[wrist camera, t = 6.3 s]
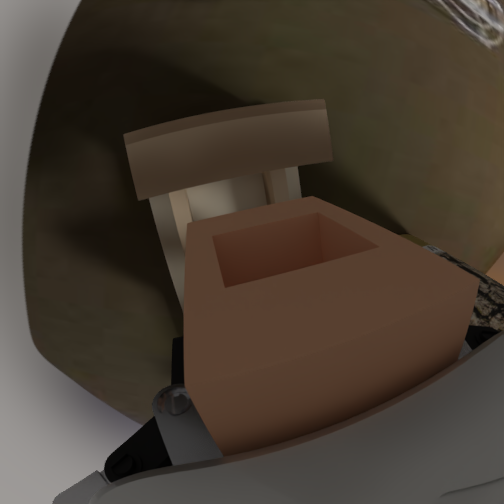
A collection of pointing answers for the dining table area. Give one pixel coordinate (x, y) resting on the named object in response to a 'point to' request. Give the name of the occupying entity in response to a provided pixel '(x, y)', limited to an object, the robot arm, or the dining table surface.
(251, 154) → the stand
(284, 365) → the rectangular block
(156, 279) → the dining table surface
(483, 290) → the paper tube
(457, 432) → the robot arm
